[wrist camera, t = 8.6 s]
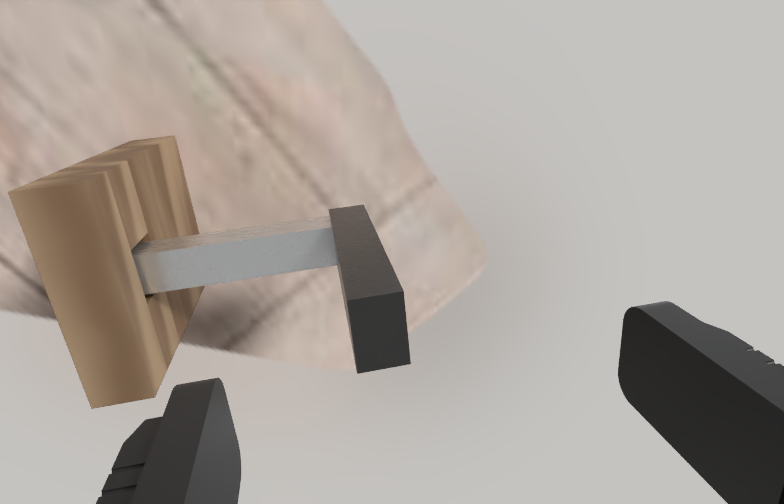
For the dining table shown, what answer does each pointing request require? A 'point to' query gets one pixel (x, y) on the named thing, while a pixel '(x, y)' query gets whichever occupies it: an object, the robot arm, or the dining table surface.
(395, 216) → the dining table surface
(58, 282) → the block
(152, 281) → the l-shaped bracket
